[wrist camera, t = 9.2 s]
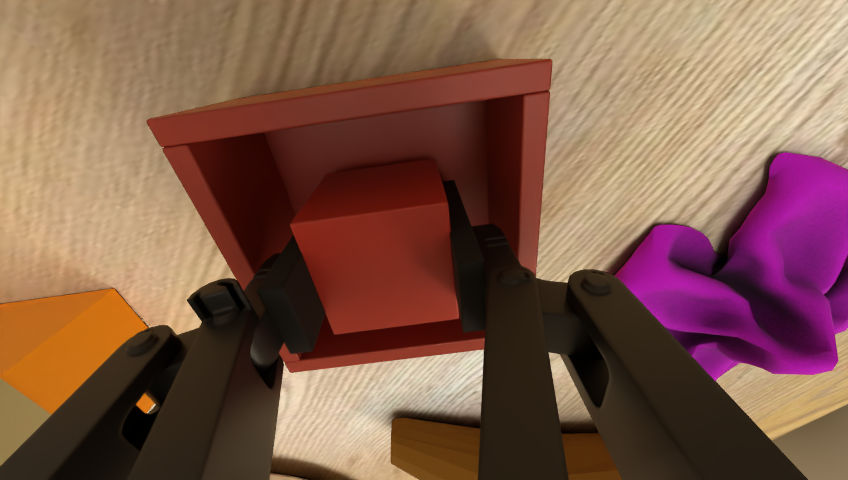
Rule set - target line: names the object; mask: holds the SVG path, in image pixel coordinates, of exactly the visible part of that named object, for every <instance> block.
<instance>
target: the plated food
mask: <svg viewBox="0 0 848 480" xmlns="http://www.w3.org/2000/svg"><path fill="white" fill-rule="evenodd" d="M269 480H307V479H302V478H298V477H294V476H289V475H281V474H274V473H270V479H269Z"/></svg>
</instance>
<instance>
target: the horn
mask: <svg viewBox="0 0 848 480" xmlns="http://www.w3.org/2000/svg"><path fill="white" fill-rule="evenodd" d="M562 440H563V446H564V452H565V459H566V465H567V471H568V477H569V480H622V478H621V476H620V474H619V472H618V470H617V468H616V466H615V464H614V462H613V460H612V458H611V456H610V454H609V452H608V450H607V448H606V446H605V444H604V442H603V440H602V438H601V436H600V434H599V433H575V434H562ZM479 444H480V429H479V428H473V427H466V426H459V425H452V424H445V423H438V422H431V421H424V420H417V419H410V418H399V419H393V420H392V430H391V464H393V465H395V466H396V467H398V468H400V469H402V470H403V471H405V472H407V473H408V474H410V475H412V476H414V477H415V478H417V479H419V480H478V465H479Z"/></svg>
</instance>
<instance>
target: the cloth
mask: <svg viewBox="0 0 848 480" xmlns="http://www.w3.org/2000/svg"><path fill="white" fill-rule="evenodd" d="M615 277H617V278H618V279H619V280H620V281H622V282H623V283H624V284H625V285H626V286H627V288H628V289H629V290H630V291H631V292H632V293H633V294H634V295H635V296H636V297H637V298H638V299H639V300H640V301H641V302H642V303H643V305H644V306H645V307H646V308H647V309H648V310H649V311H650V312H651V313H652V314H653V315H654V316H655V317H656V318H657V319H658V321H659V322H660V323H661V324H662V325H663V326H664V327H665V328H666V329H667V330H668V331H669V332H670V333H671V334H672V335H673V336H674V338H675V339H676V340H677V341H678V342H679V343H680V344H681V345H682V346H683V347H684V348H685V349H686V350H687V351H688V352H689V354H690V355H691V356H692V357H693V358H694V359H695V360H696V361H697V362H698V363H699V364H700V365H701V366H702V367H703V368H704V369H705V371H706V372H707V373H708V374H709V375H710V376H711V377H712V378H713V379H714V380H715V381H716V380H717V379H718V378H719V377H720V376H721V375H723V374H724V373H725V372H727V371H728V370H730V369H731V368H733V367H734V366H736V365H737V364H738V363H747V364H751V365H754V366H757V367H760V368H763V369H765V370H767V371H769V372H771V373H773V374H802V375H814V374H819V373H823V372H827V371H832V370H833V369H834V367H835V365H836V364H837V362H838V355H837V348H836V341H835V334H837V333H840V332H843V331H845V330H846V329H847V328H848V169H845V168H843V167H841V166H839V165H836V164H834V163H832V162H830V161H827V160H825V159H823V158H821V157H814V156H808V155H801V154H794V153H787V152H784V153H781V154H778V155H777V156H776V157H775V159H774V160H773V162H772V164H771V166H770V169H769V180H768V184H767V188H766V193H765V194H764V196H763V197H762V198H761V199H760V200H759V202H758V203H757V204H756V205H755V207H754V208H753V209H752V210H751V212H750V213H749V215H748V217H747V218H746V220H745V221H744V223H743V224H742V226H741V227H740V229H739V230H738V231H737V232H736V233H735V234H734V235H733V236H732V238H731V239H730V240H729V248H728V256H727V255H723V254H718V253H715V252H714V250H713V247H712V245H711V243H710V241H709V239H708V238H707V237H706V236H705V235H704V234H703V233H701V232H699V231H697V230H695V229H693V228H691V227H687V226H681V225H658V226H656V227H654V228H653V230H652V231H651V232H650V234H649V235H648V236H647V237H646V238H645V240H644V241H643V242H642V243H641V244H640V246H639V247H638V248H637V249H636V251H635V252H634V254H633V255H632V257H631V258H630V259H629V260H628V261H627V262H626V263H625V264H624V266H623V267H622V268H621V269H620V270H619V271H618V272H617V273H616V275H615Z"/></svg>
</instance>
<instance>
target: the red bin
mask: <svg viewBox="0 0 848 480" xmlns="http://www.w3.org/2000/svg"><path fill="white" fill-rule="evenodd" d="M551 73H552V60H551V59H496V60H490V61H483V62H477V63H470V64H463V65H457V66H450V67H443V68H437V69H430V70H423V71H417V72H410V73H403V74H397V75H390V76H384V77H377V78H370V79H364V80H357V81H350V82H344V83H337V84H330V85H324V86H317V87H310V88H304V89H297V90H291V91H284V92H277V93H271V94H264V95H257V96H251V97H244V98H238V99H234V100H229V101H225V102H221V103H216V104H212V105H208V106H203V107H199V108H194V109H190V110H186V111H181V112H177V113H172V114H168V115H164V116H159V117H155V118H150V119H148V120H147V124H148V126H149V127H150V129H151V131H152V133H153V134H154V136H155V138H156V140H157V141H158V143H159V145H160V146H161V147H164V148H163V152H164V154H165V155H166V157H167V159H168V161H169V162H170V164H171V166H172V168H173V169H174V171H175V173H176V175H177V176H178V178H179V180H180V182H181V183H182V185H183V187H184V189H185V190H186V192H187V194H188V196H189V197H190V199H191V201H192V203H193V204H194V206H195V208H196V210H197V211H198V213H199V215H200V216H201V218H202V220H203V222H204V223H205V225H206V227H207V229H208V230H209V232H210V234H211V236H212V237H213V239H214V241H215V243H216V244H217V246H218V248H219V250H220V251H221V253H222V255H223V257H224V258H225V260H226V262H227V264H228V265H229V267H230V269H231V271H232V272H233V274H234V276H235V278H236V279H237V281H238V282H239V284H240V285H241V287H242V289H243V290H244V289H245V288H246V286H247V285H248V283H249V282H250V281H251V280H252V279H253V276H254V275H255V274H256V272H258V269H259V268H260V267H261V265H262V264H263V262H264V261H266V260H267V259H268V258H270V257H271V256H272V255H273V254H276V253H281V252H282V251H283V249H284V248H285V246H286V245H287V243H288V242H289V240H290V239H291V237H292V236H293V232H292V229H291V227H290V223H291V222H292V221H293V219H294V218H295V217H296V215H297V214H298V212H299V211H300V210H301V208H302V207H303V206H304V204H305V203H306V202H307V200H308V199H309V197H310V196H311V195H312V193H313V192H314V191H315V189H316V188H317V187H318V185H319V184H320V182H321V181H322V180H323V178H324V177H325V176H326V174H329V173H336V172H343V171H350V170H357V169H364V168H371V167H378V166H385V165H392V164H399V163H406V162H413V161H420V160H427V159H436V162H437V165H438V169H439V173H440V176H441V180H442V182H443V181H450V180H454V181H455V183H456V186H457V189H458V191H459V194H460V197H461V199H462V202H463V205H464V207H465V210H466V213H467V215H468V218H469V221H470V223H471V226H477V225H484V224H492V223H493V224H494V225H496V226H497V227H499V228H501V229H502V231H503V233H504V235H505V236H506V238H507V240H508V242H509V244H510V246H511V247H512V249H513V251H514V253H515V255H516V257H517V258H518V260H519V262H520V264H521V266H523V267H526V268H528V269H529V270H531V271H532V272H533V273H534V275H535V277H536V266H537V253H538V241H539V228H540V215H541V202H542V189H543V177H544V164H545V151H546V138H547V125H548V112H549V100H550V92H549V91H548V90H550V86H551ZM458 310H459V308H458ZM484 342H485V330H481V331H473V332H465V333H463V328H462V323H461V318H460V313H459V318H458V319H453V320H445V321H438V322H430V323H422V324H414V325H406V326H398V327H390V328H382V329H375V330H367V331H359V332H351V333H343V334H334V333H333V331H332V328H331V326H330V323H329V321H328V318H327V316H326V313H325V316H324V319H323V322H322V325H321V328H320V331H319V334H318V338H317V341H316V344H315V347H314V350H313V351H312V352H304V353H296V354H290V353H289V351H288V349H287V347H286V345H285V343H283V346H282V348H281V350H280V352H279V354H280V355H281V357H282V359H283V361H284V362H285V365H286V366H287V368H288V370H289V372H291V373H293V372H301V371H310V370H318V369H326V368H334V367H342V366H351V365H359V364H367V363H375V362H383V361H392V360H400V359H408V358H416V357H424V356H433V355H441V354H449V353H457V352H465V351H474V350H482V349H484Z"/></svg>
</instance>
